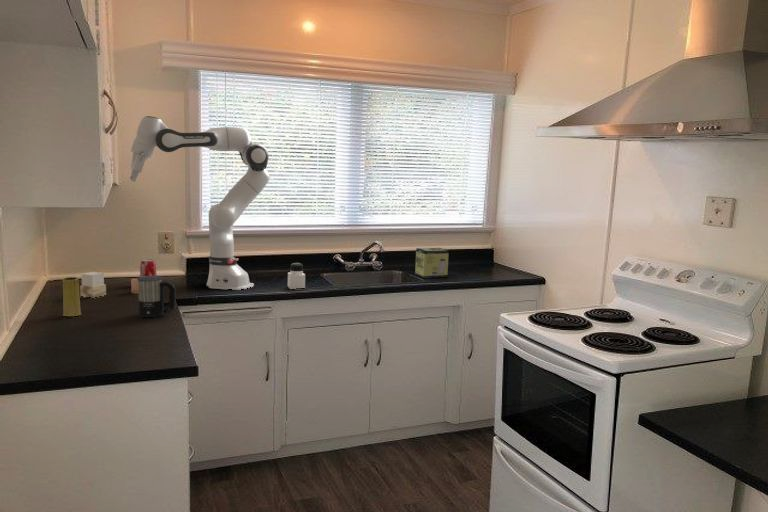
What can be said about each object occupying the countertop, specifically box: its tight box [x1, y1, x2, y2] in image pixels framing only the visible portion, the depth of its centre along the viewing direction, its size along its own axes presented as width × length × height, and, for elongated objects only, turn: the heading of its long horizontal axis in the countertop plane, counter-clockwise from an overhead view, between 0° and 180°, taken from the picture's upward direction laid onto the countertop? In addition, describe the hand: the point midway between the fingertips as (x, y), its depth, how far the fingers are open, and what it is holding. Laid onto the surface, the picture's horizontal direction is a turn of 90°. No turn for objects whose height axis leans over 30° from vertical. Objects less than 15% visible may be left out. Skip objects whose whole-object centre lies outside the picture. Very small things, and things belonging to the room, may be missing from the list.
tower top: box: [81, 271, 105, 287], centre depth 253 cm, size 6×6×5 cm
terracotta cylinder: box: [130, 277, 139, 295], centre depth 263 cm, size 5×5×6 cm
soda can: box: [139, 258, 157, 277], centre depth 279 cm, size 7×7×12 cm
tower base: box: [79, 283, 107, 299], centre depth 254 cm, size 7×7×5 cm
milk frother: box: [136, 275, 177, 318], centre depth 230 cm, size 14×16×15 cm
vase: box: [62, 276, 82, 317], centre depth 221 cm, size 6×6×14 cm
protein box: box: [414, 247, 450, 278], centre depth 330 cm, size 10×16×16 cm
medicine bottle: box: [287, 262, 306, 290], centre depth 286 cm, size 7×7×12 cm
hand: (132, 180), depth 265 cm, fingers open, 8 cm apart
